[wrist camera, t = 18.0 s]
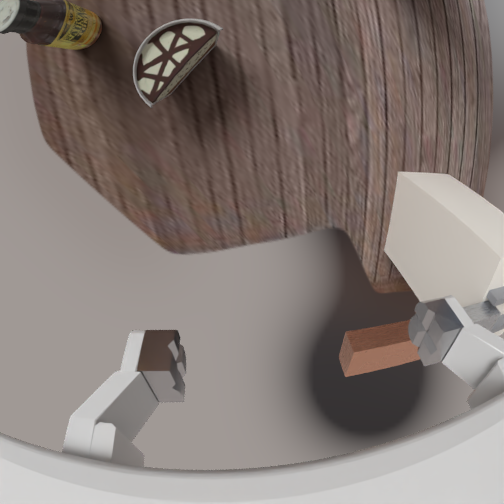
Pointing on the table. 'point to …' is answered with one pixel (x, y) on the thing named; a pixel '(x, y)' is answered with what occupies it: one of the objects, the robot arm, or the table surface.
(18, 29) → the sauce bottle
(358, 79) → the table surface
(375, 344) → the knife
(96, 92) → the table surface
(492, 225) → the stand
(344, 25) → the table surface
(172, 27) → the half round cake
